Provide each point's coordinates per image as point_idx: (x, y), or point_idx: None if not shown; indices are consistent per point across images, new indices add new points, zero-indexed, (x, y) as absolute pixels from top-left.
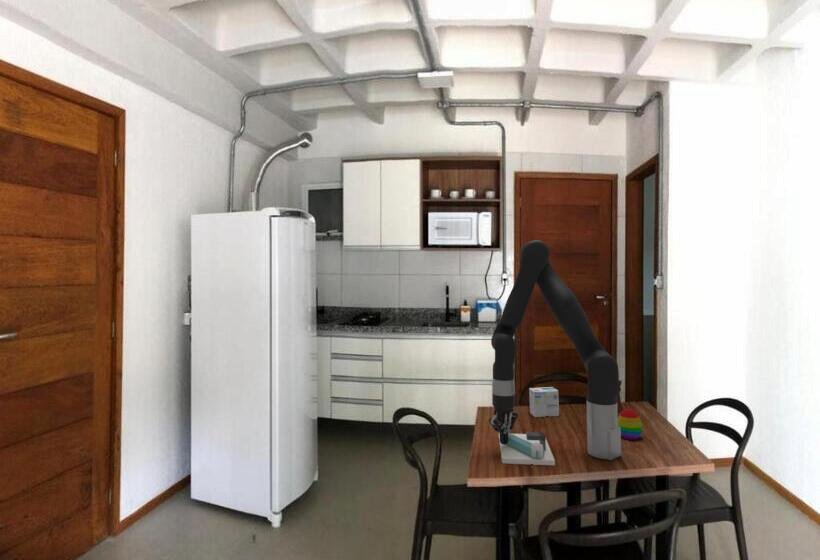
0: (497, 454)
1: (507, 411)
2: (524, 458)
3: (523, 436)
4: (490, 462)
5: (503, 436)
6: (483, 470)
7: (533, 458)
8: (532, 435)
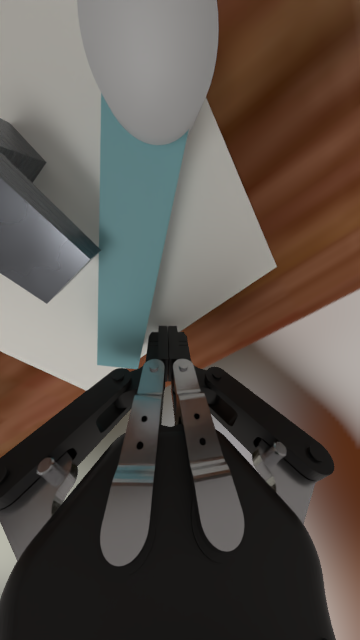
0: (204, 315)
1: (153, 580)
2: (222, 177)
3: (16, 337)
4: (275, 294)
5: (185, 353)
6: (346, 272)
7: None
8: (39, 219)
